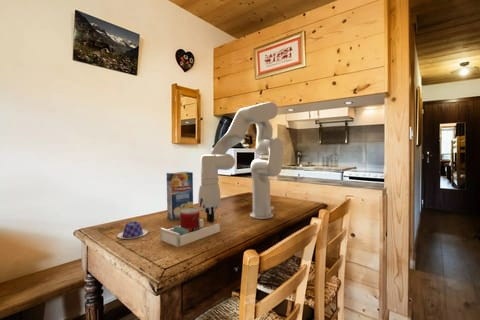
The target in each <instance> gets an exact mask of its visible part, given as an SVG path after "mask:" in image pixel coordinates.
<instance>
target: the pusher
mask: <svg viewBox="0 0 480 320" xmlns="http://www.w3.org/2000/svg"><path fill="white" fill-rule="evenodd" d="M179 226H180V225H174V226H173V228H174V232H176V233H179V234H180V236H181V235H184V234H187V233H189V230H188V229H185V228H182V227H179Z"/></svg>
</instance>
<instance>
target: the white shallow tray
mask: <svg viewBox="0 0 480 320" xmlns="http://www.w3.org/2000/svg"><path fill="white" fill-rule="evenodd" d="M204 222H205V221H204V219H203V218H201V219H200V229H199V230H196V231H193V232H190V233H187V234H184V235H181V236H180V234H179V233H176V232H174V227H170V228H165V227H160V241H162V242H165V243H167V244H170V245H172V246H174V247H177V248H179V247H182V246H185V245H188V244H190V243H193V242H195V241H197V240H198V241H199V240H200V239H203V238H207V237H209V236H211V235H214V234H217V233H219V232H221V231H220V229H221V228H220V227H221V226H220V223H218V222H217V223H214V224H212V225H209V226H206V227H205V225H204V224H205V223H204ZM178 226H179V227H180V225H178Z"/></svg>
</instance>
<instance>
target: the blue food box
mask: <svg viewBox="0 0 480 320" xmlns="http://www.w3.org/2000/svg"><path fill="white" fill-rule="evenodd" d="M166 204H167V205H166V207H167V208H166V209H167V213H166V214H167V218H169V219H170V220H171V221H174V220H180V211H181V210H182V209H187V208H194V174H193V172H192V171H178V172H177V171H175V172H172V171H171V172H166Z"/></svg>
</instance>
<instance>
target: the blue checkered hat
mask: <svg viewBox="0 0 480 320" xmlns="http://www.w3.org/2000/svg"><path fill="white" fill-rule="evenodd" d="M148 232H149V231H148V230H147V229H144V228H142V224H141V223H140V222H139V221H129V222H126V223H125V225H124V228H123V231H122V232H120V233H118V234H117V236H116V237H117V238H119V239H122V240H123V239H126V240H127V239H128V240H131V239H137V238H141V237H144V236H145V235H147V234H148ZM121 236H122V237H121Z"/></svg>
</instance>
